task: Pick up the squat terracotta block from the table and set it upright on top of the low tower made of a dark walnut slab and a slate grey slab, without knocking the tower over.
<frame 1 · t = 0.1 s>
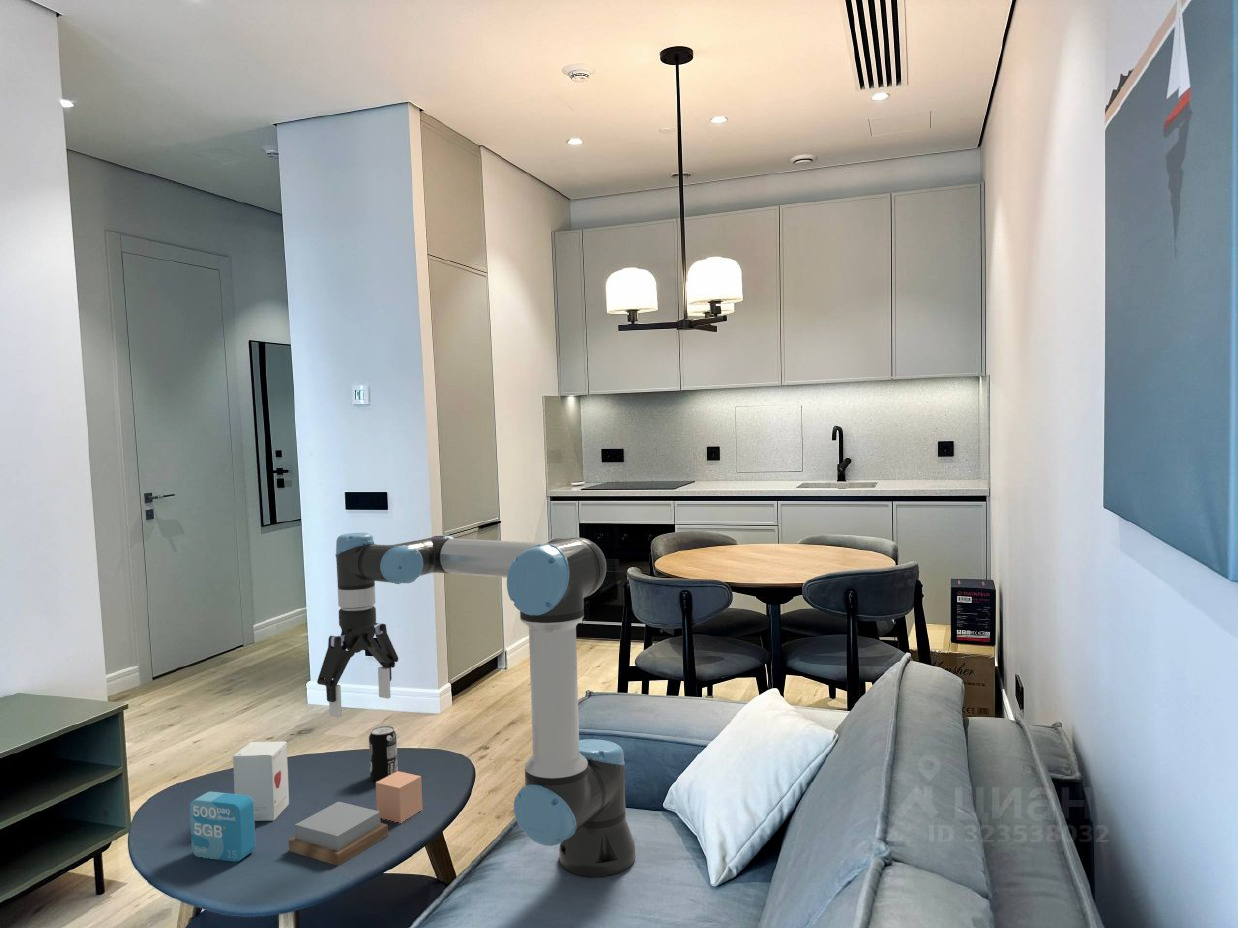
hand: (361, 706, 185), 28 cm above the table, tool pointing down, fingers open, 13 cm apart
data package: (224, 855, 180), on the table
supplement box: (263, 813, 199), on the table
beverage can: (384, 777, 217), on the table
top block: (338, 831, 183), point 2 cm above the table
terracotta block: (399, 814, 196), on the table
base block: (339, 846, 183), on the table
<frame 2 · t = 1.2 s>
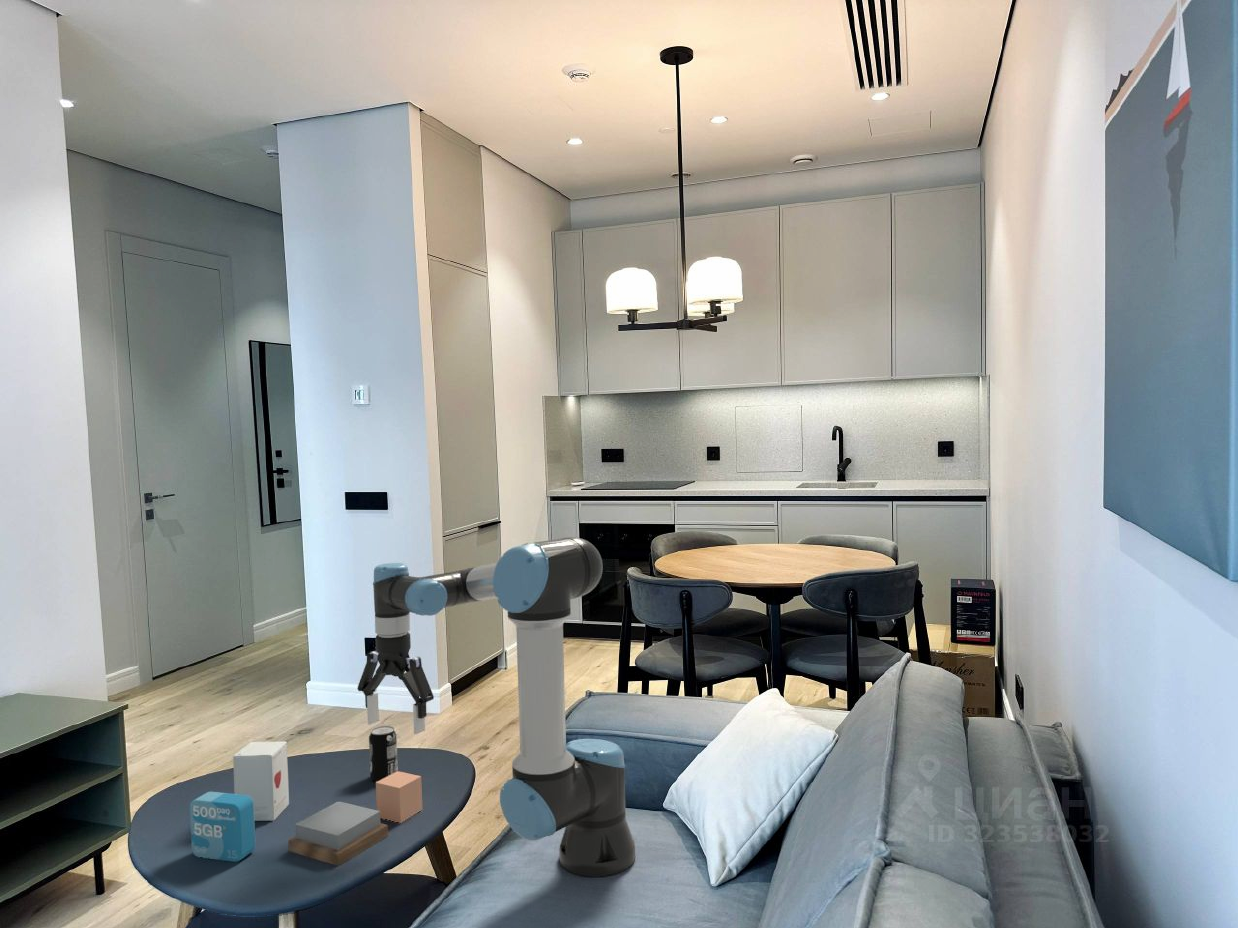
hand: (396, 727, 196), 20 cm above the table, tool pointing down, fingers open, 13 cm apart
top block: (338, 831, 184), point 2 cm above the table, touching base block
base block: (339, 846, 183), on the table, touching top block
everything else where it was.
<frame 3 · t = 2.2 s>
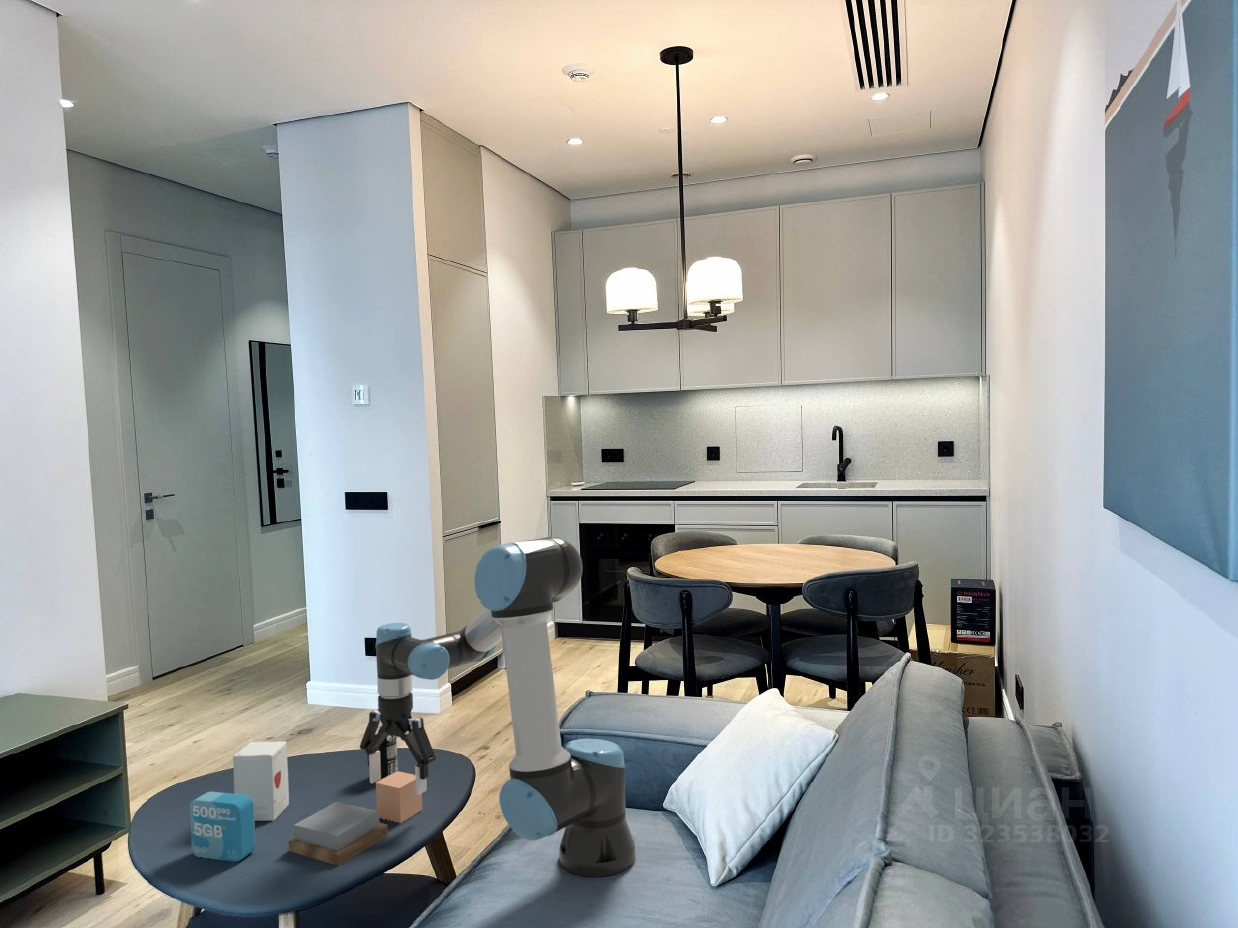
hand: (398, 786, 196), 6 cm above the table, tool pointing down, fingers open, 13 cm apart
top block: (337, 831, 183), point 2 cm above the table
base block: (339, 846, 183), on the table
everything else where it was.
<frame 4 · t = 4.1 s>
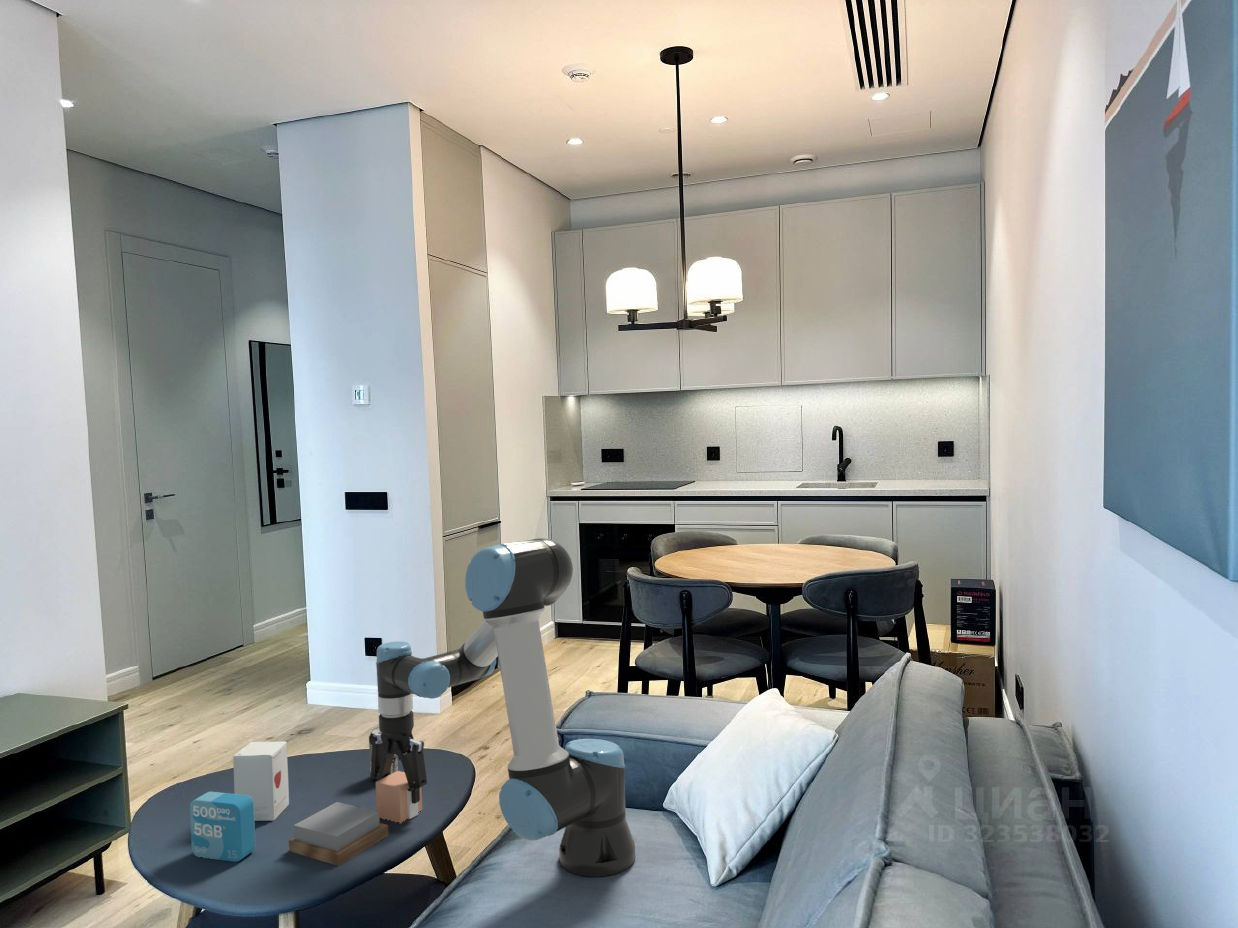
hand: (399, 812, 196), 0 cm above the table, tool pointing down, fingers closed on terracotta block, 7 cm apart
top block: (337, 832, 183), point 2 cm above the table, touching base block
terracotta block: (399, 813, 196), on the table, touching gripper
base block: (339, 846, 183), on the table, touching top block
everything else where it was.
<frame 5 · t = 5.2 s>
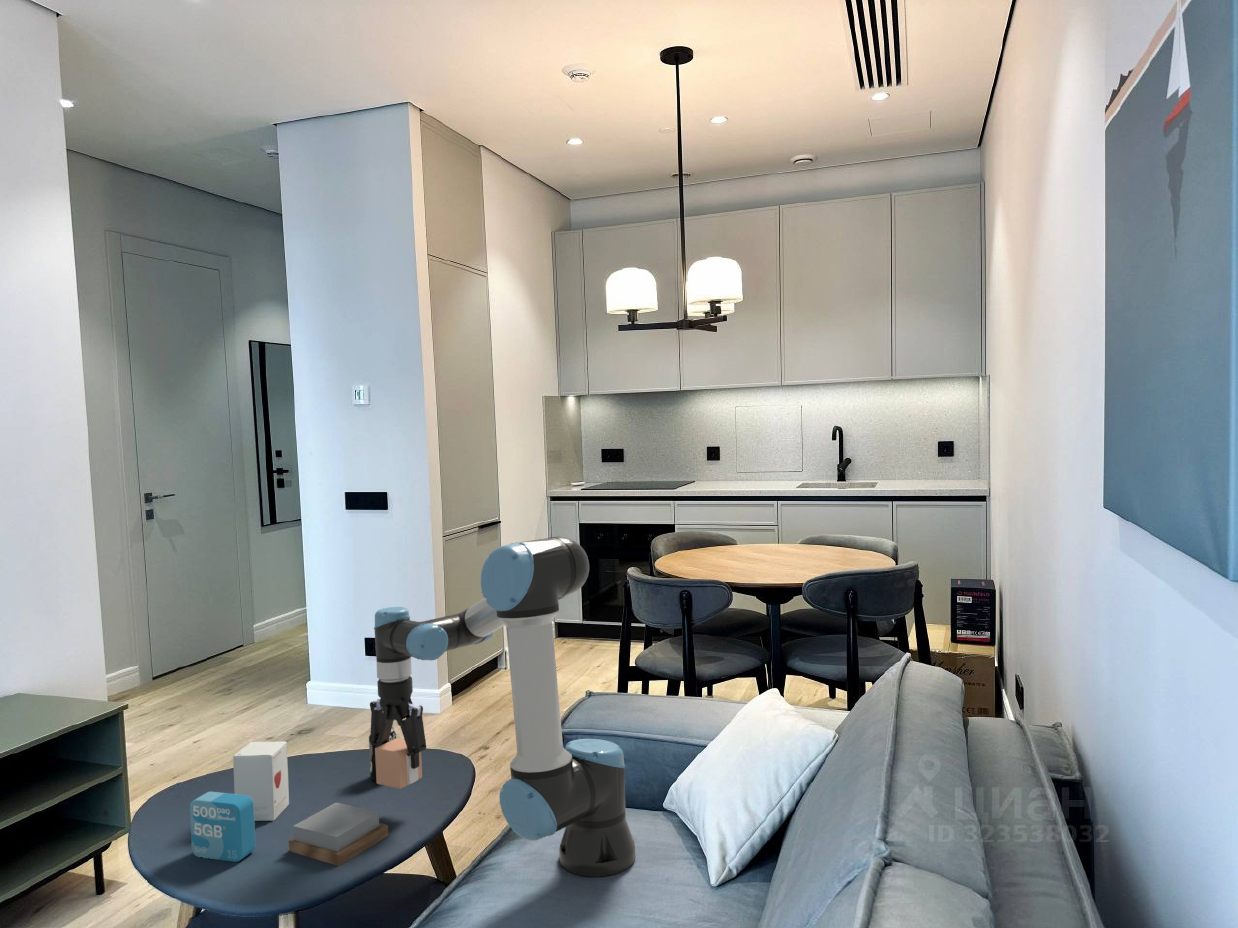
hand: (399, 778, 196), 8 cm above the table, tool pointing down, fingers closed on terracotta block, 7 cm apart
terracotta block: (399, 780, 196), point 8 cm above the table, touching gripper
everything else where it was.
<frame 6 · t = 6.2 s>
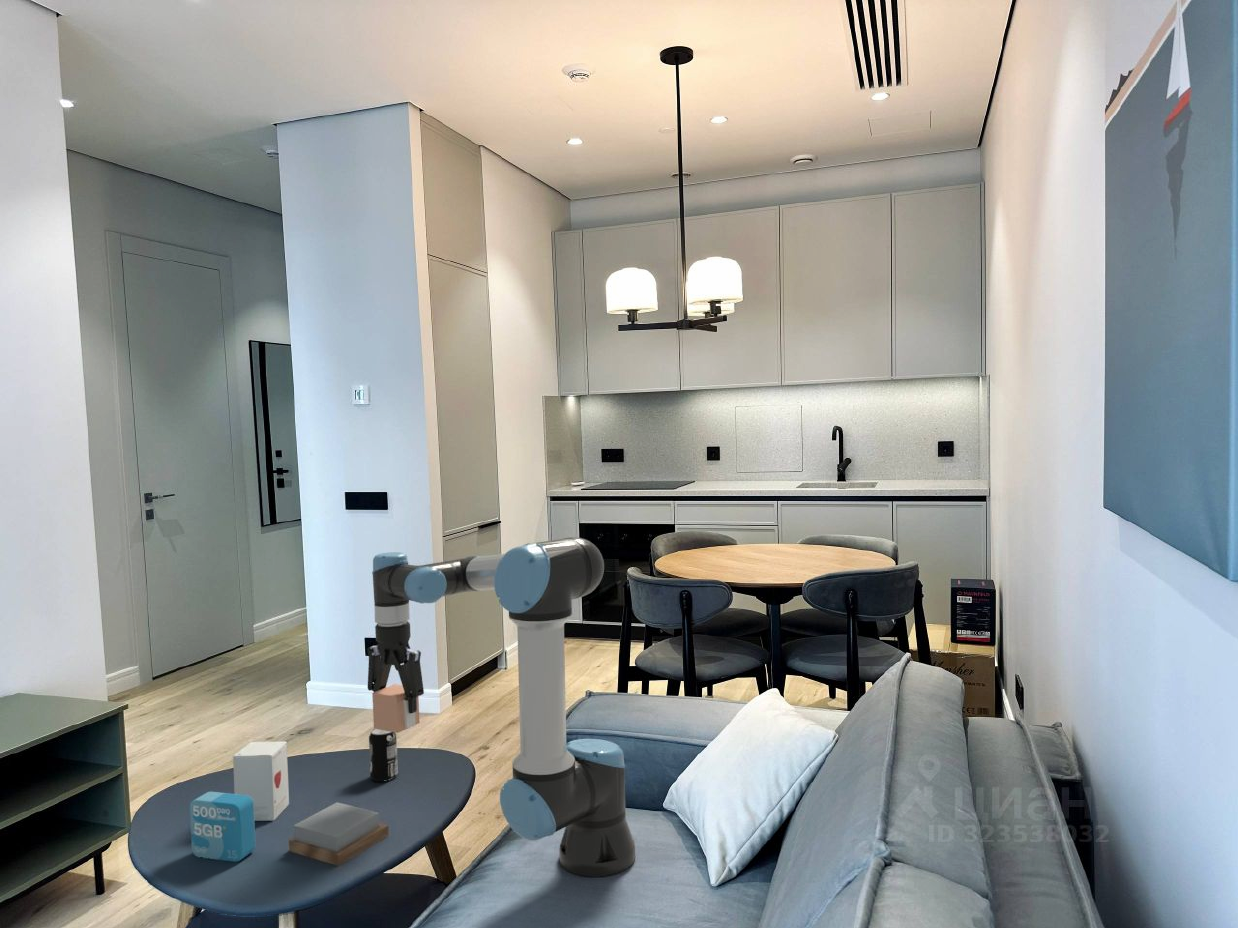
hand: (396, 724, 195), 20 cm above the table, tool pointing down, fingers closed on terracotta block, 7 cm apart
terracotta block: (396, 725, 195), point 20 cm above the table, touching gripper
everything else where it was.
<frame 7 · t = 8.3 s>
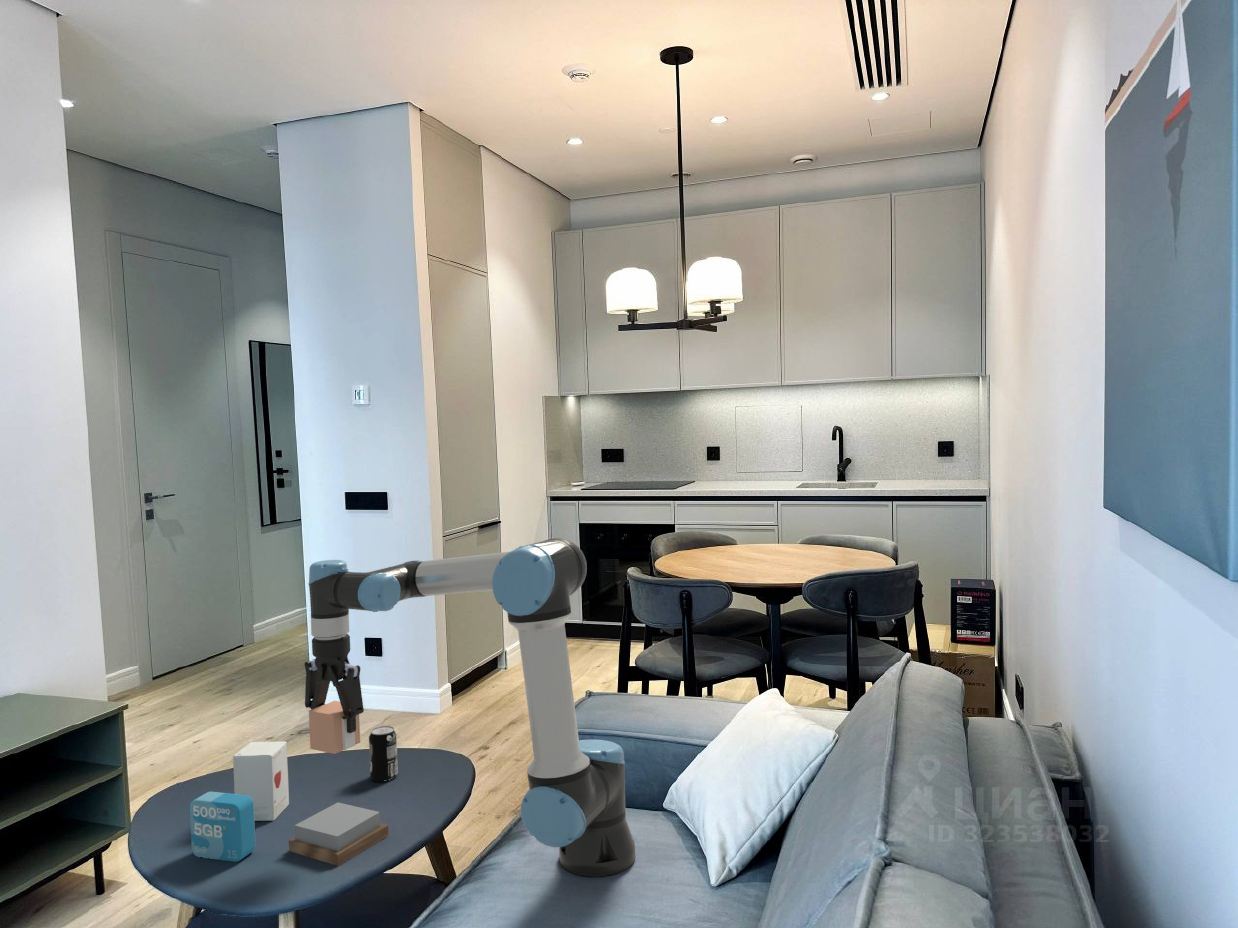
hand: (335, 744, 182), 21 cm above the table, tool pointing down, fingers closed on terracotta block, 7 cm apart
terracotta block: (335, 745, 182), point 21 cm above the table, touching gripper
everything else where it was.
when the fingers open (7 cm above the table, at t = 13.2 s): terracotta block drops 2 cm, resting on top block.
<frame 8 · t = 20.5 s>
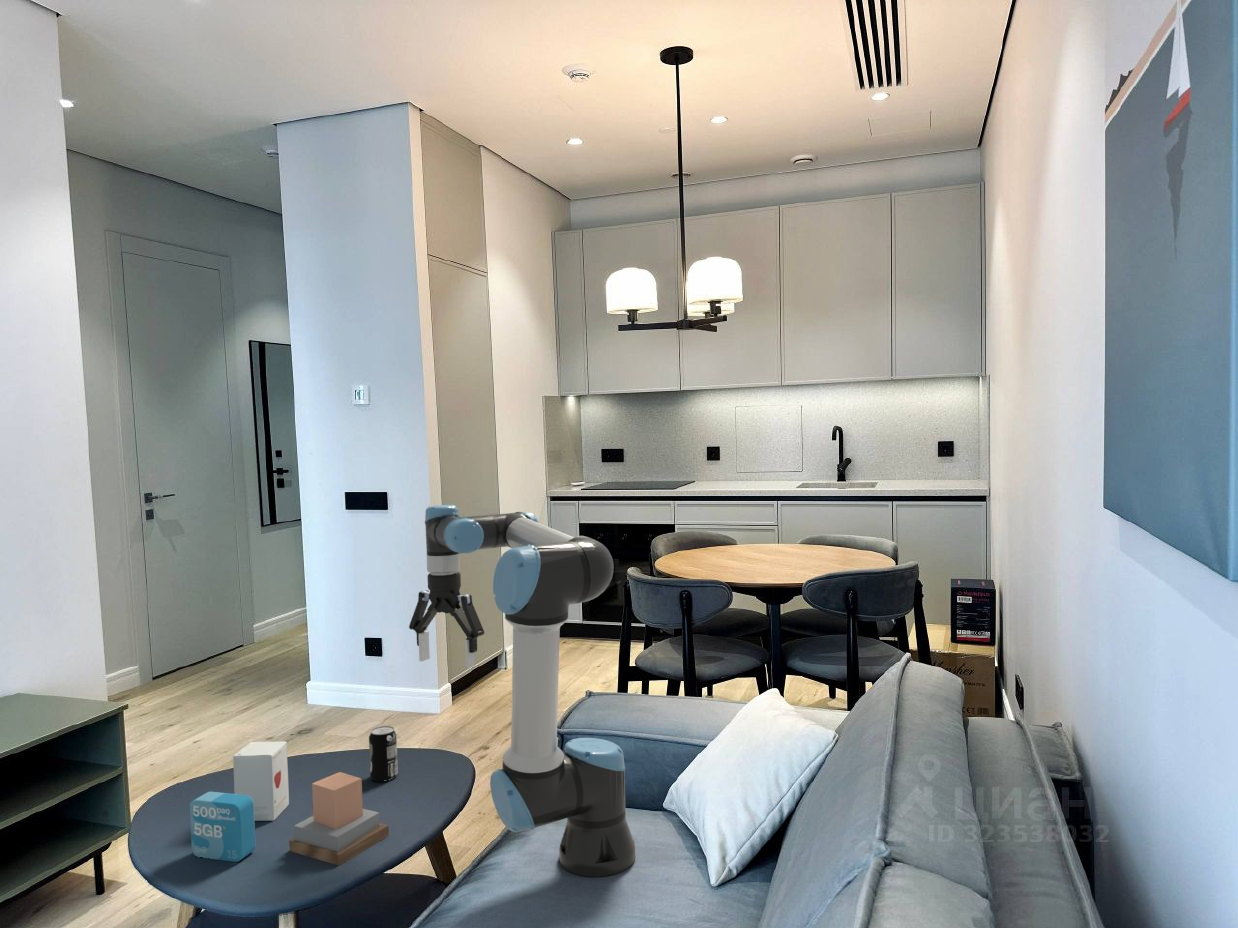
hand: (447, 663, 203), 32 cm above the table, tool pointing down, fingers open, 13 cm apart
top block: (337, 832, 183), point 2 cm above the table, touching base block, terracotta block
terracotta block: (338, 818, 183), point 5 cm above the table, touching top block
everything else where it was.
at the end: terracotta block inside the target area on the base block (0.1 cm from its centre), point 6.0 cm above the base block's base; terracotta block tilted 0°; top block moved 0.9 cm from its start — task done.
